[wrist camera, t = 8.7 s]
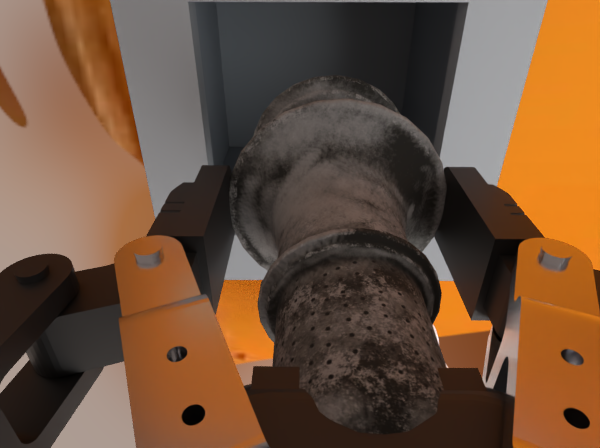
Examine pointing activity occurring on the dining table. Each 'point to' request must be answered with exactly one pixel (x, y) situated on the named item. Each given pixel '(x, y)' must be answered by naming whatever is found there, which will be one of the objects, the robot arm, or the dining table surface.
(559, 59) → the dining table surface
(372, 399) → the salt shaker
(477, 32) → the box
